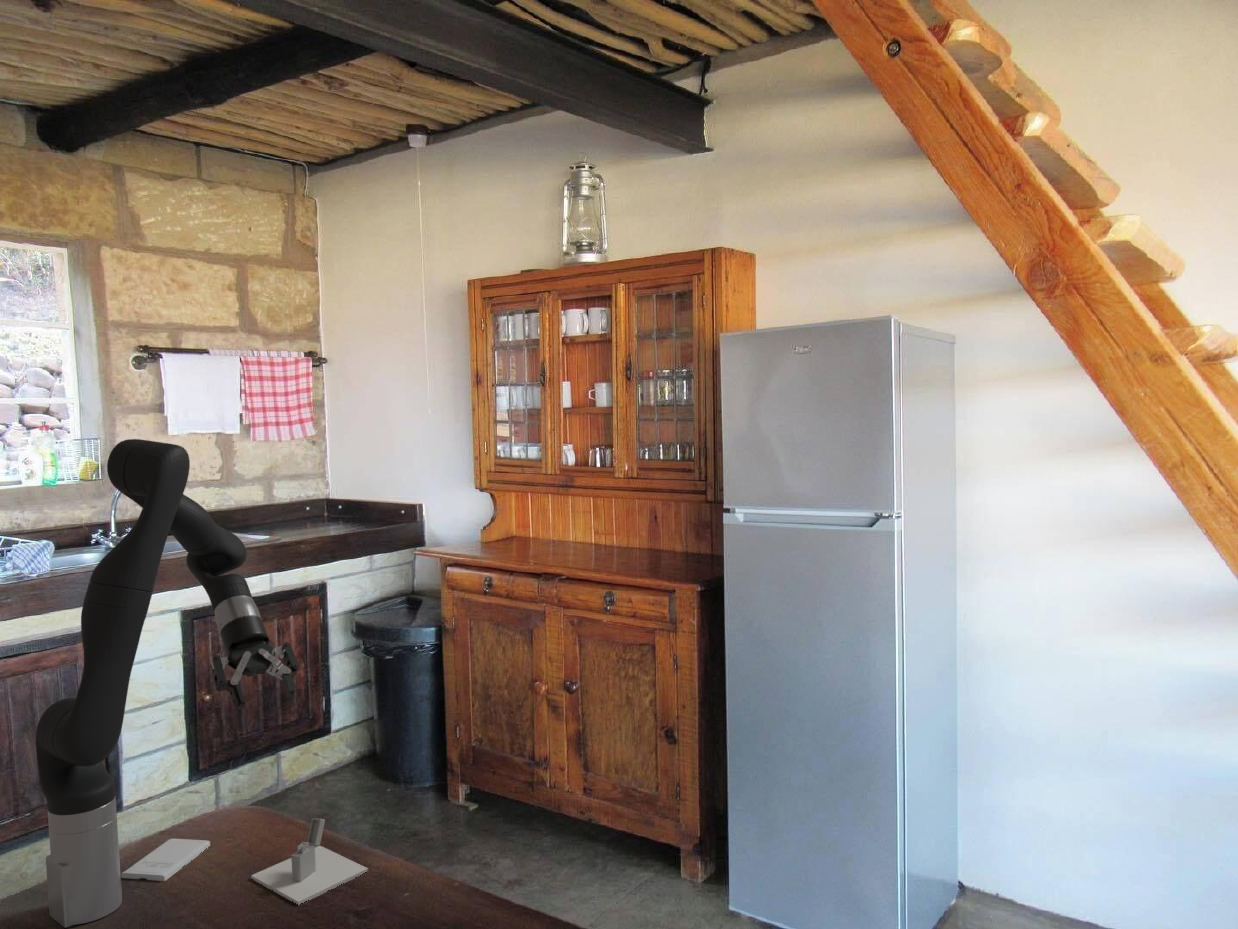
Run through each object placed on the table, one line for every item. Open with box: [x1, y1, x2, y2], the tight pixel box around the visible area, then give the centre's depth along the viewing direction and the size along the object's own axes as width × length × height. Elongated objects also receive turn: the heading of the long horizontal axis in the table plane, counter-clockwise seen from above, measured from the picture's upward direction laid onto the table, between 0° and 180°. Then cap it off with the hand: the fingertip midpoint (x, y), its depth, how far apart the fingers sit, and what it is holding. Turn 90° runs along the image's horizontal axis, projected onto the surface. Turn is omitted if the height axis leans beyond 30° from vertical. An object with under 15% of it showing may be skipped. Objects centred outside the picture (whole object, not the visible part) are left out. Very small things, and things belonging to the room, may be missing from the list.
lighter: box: [290, 817, 326, 882], centre depth 155 cm, size 7×2×8 cm, turn 161°
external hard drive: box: [120, 838, 211, 882], centre depth 162 cm, size 2×8×12 cm
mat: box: [250, 845, 369, 906], centre depth 155 cm, size 13×14×1 cm
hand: (267, 701), depth 164 cm, fingers open, 8 cm apart
